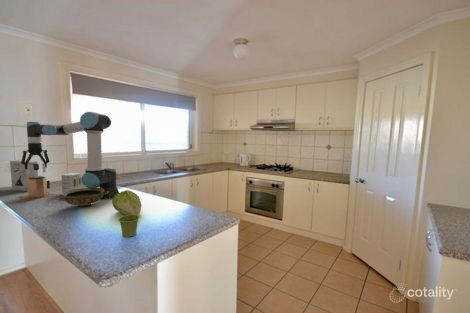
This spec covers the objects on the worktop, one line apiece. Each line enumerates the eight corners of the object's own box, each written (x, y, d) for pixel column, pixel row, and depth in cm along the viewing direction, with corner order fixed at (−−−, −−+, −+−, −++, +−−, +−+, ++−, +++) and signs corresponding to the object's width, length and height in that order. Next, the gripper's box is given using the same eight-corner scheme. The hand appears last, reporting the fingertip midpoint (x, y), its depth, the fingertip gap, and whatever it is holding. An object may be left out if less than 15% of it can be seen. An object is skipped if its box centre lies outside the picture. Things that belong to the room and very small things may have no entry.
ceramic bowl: (60, 215, 135) (59, 199, 134) (54, 206, 151) (53, 191, 151) (114, 205, 156) (114, 191, 155) (104, 198, 173) (103, 185, 172)
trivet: (57, 197, 173) (57, 195, 173) (27, 202, 157) (26, 201, 157) (47, 193, 182) (47, 192, 182) (17, 198, 166) (17, 197, 166)
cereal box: (11, 189, 193) (9, 160, 191) (22, 187, 200) (20, 159, 198) (29, 191, 187) (27, 162, 184) (39, 189, 194) (37, 161, 192)
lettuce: (119, 212, 124) (143, 195, 132) (105, 197, 140) (127, 183, 148) (131, 229, 131) (153, 212, 139) (117, 213, 147) (137, 199, 155)
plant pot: (142, 230, 116) (142, 214, 115) (135, 239, 106) (134, 221, 105) (124, 230, 115) (123, 214, 115) (115, 239, 106) (114, 221, 105)
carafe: (52, 195, 173) (51, 176, 172) (31, 199, 163) (30, 178, 161) (47, 193, 178) (46, 175, 177) (26, 196, 168) (25, 177, 166)
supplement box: (73, 196, 176) (72, 175, 175) (61, 195, 177) (60, 174, 175) (81, 193, 186) (81, 173, 184) (71, 192, 186) (70, 172, 185)
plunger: (45, 194, 171) (43, 163, 168) (33, 196, 164) (31, 164, 162) (41, 192, 174) (39, 162, 172) (29, 194, 168) (27, 163, 166)
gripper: (50, 142, 177) (51, 170, 179) (13, 142, 158) (15, 174, 161) (54, 142, 173) (55, 171, 175) (16, 143, 155) (19, 175, 157)
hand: (36, 172), depth 168 cm, fingers open, 9 cm apart
